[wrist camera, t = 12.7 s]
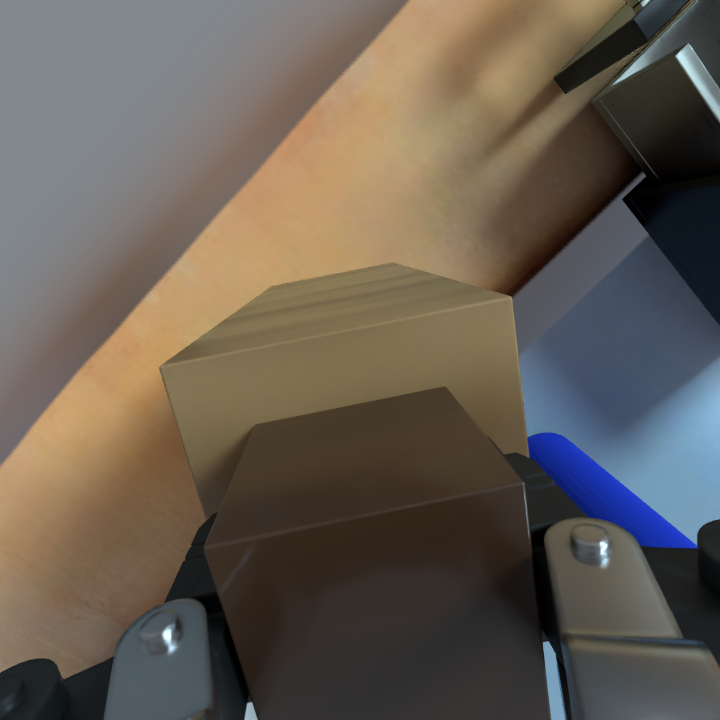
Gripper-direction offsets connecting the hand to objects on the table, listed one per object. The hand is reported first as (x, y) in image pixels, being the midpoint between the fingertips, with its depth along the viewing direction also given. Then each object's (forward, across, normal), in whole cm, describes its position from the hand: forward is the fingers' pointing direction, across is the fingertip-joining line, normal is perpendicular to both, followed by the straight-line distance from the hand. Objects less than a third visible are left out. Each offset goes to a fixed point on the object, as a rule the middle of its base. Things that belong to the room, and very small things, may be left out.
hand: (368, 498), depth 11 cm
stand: (+20, 0, 0) cm, 20 cm away
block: (0, 0, 0) cm, 0 cm away
